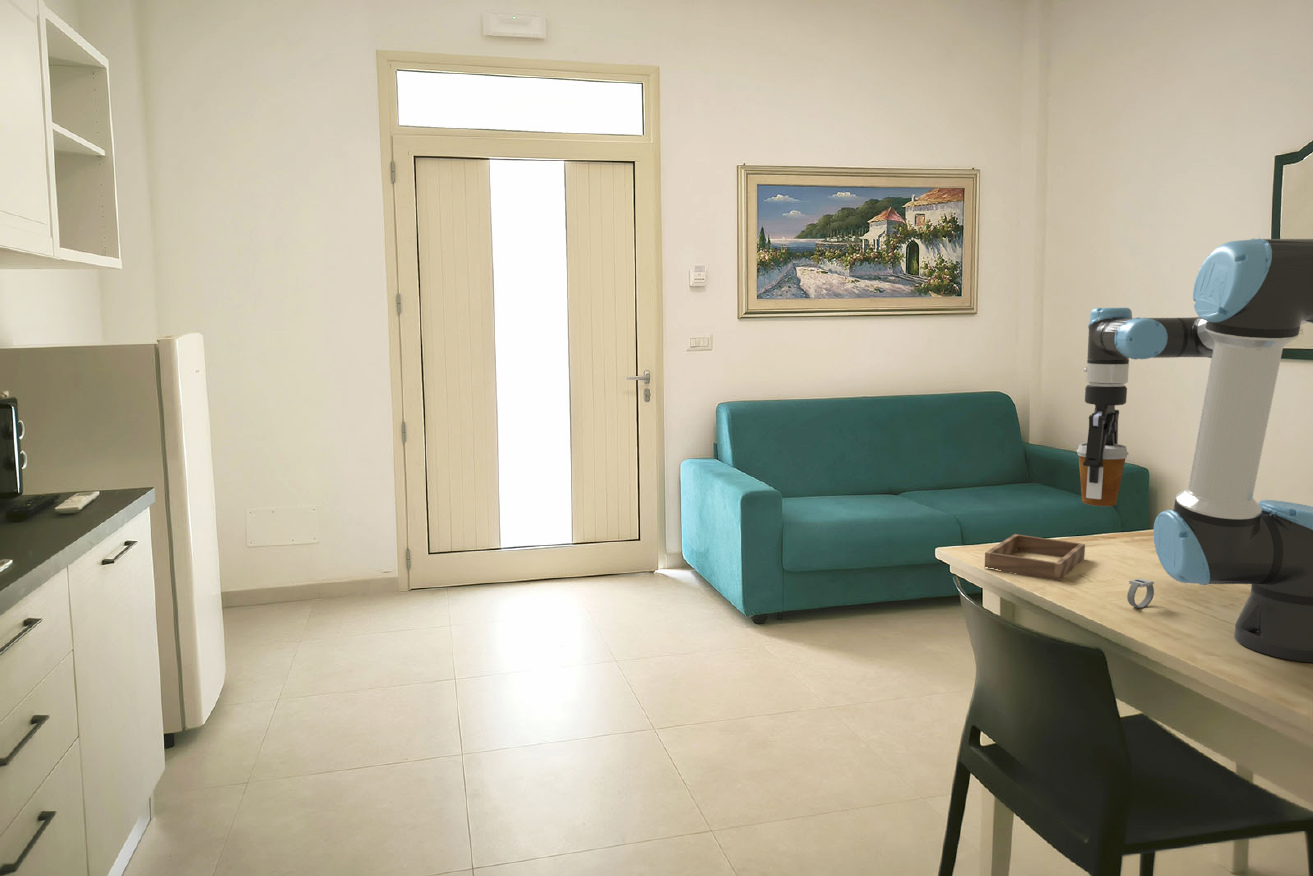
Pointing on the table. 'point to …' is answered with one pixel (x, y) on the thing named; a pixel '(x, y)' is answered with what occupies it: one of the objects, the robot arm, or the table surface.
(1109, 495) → the disposable coffee cup
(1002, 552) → the rectangular wooden frame
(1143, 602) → the wristwatch
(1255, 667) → the table surface
